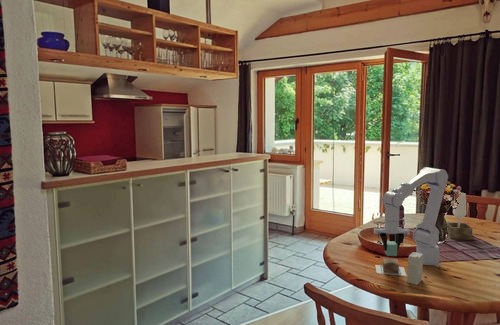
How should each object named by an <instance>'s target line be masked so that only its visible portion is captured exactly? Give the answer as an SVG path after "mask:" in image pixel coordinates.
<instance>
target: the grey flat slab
mask: <svg viewBox="0 0 500 325" xmlns="http://www.w3.org/2000/svg"><path fill="white" fill-rule="evenodd" d="M374 266H375V272H376V274H379V275H380V274H381V275H384V274H385V275H393V276H404V277H407V273H406V269H405V267H403V266H399V274H397V273H386V272H384V271H383V264H382V265H381V264H375V265H374Z"/></svg>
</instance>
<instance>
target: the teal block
mask: <svg viewBox="0 0 500 325" xmlns="http://www.w3.org/2000/svg"><path fill="white" fill-rule="evenodd" d="M384 254H385V255H386V257H389V256H390V257H398V251H397V244H396V240H394V241H393V240H392V241H390V240H389V241H388V240H387V251H385V250H384Z"/></svg>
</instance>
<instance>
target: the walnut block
mask: <svg viewBox="0 0 500 325" xmlns="http://www.w3.org/2000/svg"><path fill="white" fill-rule="evenodd" d="M382 265H383V271H384V272H386V273H397V274H399V267H400V266H399V265H400V264H399V260H398V258H385V257H383V258H382Z"/></svg>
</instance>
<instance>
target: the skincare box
mask: <svg viewBox="0 0 500 325" xmlns="http://www.w3.org/2000/svg"><path fill="white" fill-rule="evenodd" d="M407 260H408V261H407V273H406V283H409V284H413V285H416V286H418V285H419V283H421V282H422V280H423V279H422V278H423V267H424V266H423V254H422V253H417V252H415V251H412V252H411V253H410V254H409V255H408V259H407Z"/></svg>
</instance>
